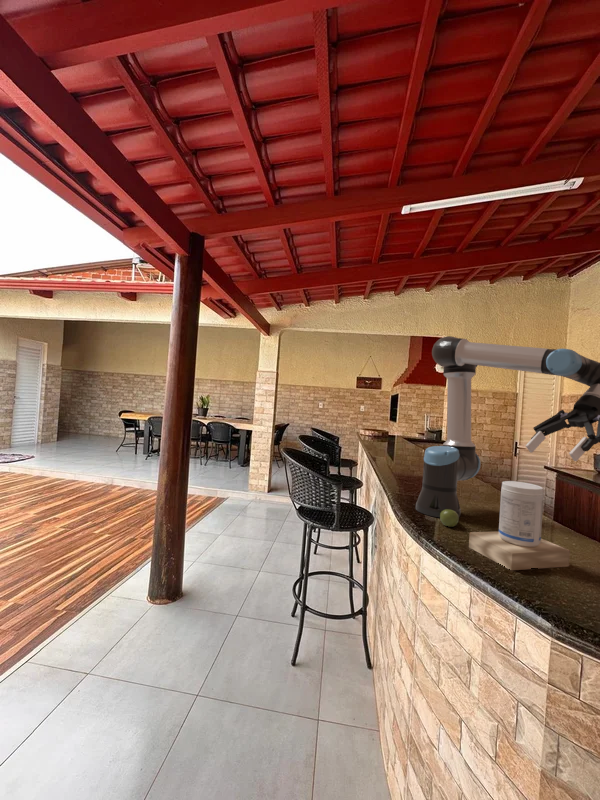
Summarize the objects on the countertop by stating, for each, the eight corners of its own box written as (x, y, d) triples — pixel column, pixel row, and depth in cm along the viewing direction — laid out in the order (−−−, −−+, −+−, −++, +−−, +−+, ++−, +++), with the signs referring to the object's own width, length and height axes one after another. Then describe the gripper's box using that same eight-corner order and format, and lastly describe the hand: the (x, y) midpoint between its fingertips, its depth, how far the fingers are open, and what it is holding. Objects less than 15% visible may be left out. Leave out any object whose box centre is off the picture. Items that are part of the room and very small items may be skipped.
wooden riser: (468, 547, 102) (469, 532, 102) (521, 544, 107) (522, 530, 107) (511, 570, 88) (512, 553, 88) (568, 566, 93) (569, 550, 93)
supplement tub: (512, 533, 104) (515, 479, 104) (548, 545, 95) (552, 488, 96) (490, 536, 99) (493, 481, 99) (526, 550, 91) (530, 489, 91)
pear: (440, 508, 119) (440, 506, 128) (439, 526, 118) (439, 522, 127) (459, 511, 117) (458, 509, 126) (458, 529, 116) (457, 525, 125)
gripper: (650, 416, 97) (601, 472, 93) (561, 410, 121) (519, 455, 117) (637, 394, 96) (587, 450, 92) (549, 392, 120) (507, 437, 116)
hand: (549, 453), depth 105 cm, fingers open, 13 cm apart
